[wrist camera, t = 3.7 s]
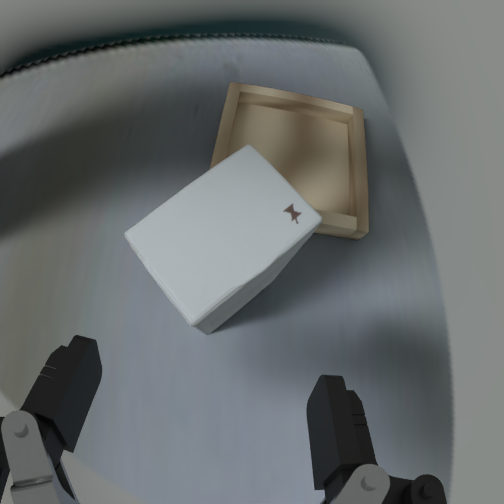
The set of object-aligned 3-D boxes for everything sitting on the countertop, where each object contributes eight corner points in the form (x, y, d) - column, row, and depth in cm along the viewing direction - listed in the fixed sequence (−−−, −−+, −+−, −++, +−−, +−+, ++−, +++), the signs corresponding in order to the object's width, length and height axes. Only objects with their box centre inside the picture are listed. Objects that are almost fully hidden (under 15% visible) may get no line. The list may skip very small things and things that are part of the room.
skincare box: (233, 236, 24) (253, 138, 12) (273, 282, 23) (330, 219, 11) (166, 289, 22) (118, 231, 10) (205, 338, 21) (195, 332, 10)
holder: (203, 214, 24) (202, 204, 22) (229, 96, 27) (230, 82, 25) (358, 240, 25) (368, 232, 23) (355, 121, 28) (362, 109, 26)
